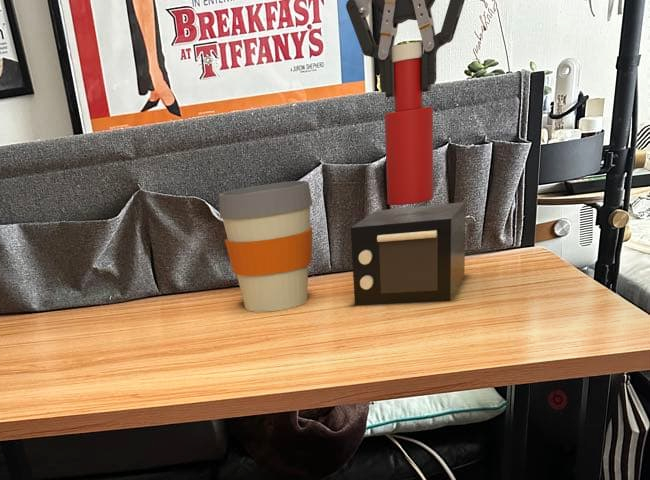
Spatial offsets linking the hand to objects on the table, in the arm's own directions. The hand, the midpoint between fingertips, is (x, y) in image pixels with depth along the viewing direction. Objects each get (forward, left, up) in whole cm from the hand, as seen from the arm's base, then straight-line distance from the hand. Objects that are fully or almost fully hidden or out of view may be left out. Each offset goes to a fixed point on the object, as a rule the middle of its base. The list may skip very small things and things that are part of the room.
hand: (408, 93), depth 85 cm
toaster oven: (0, 0, -23) cm, 23 cm away
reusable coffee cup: (+19, +1, -23) cm, 30 cm away
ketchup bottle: (0, 0, -12) cm, 12 cm away
